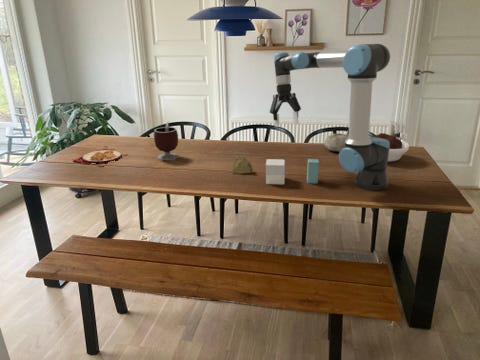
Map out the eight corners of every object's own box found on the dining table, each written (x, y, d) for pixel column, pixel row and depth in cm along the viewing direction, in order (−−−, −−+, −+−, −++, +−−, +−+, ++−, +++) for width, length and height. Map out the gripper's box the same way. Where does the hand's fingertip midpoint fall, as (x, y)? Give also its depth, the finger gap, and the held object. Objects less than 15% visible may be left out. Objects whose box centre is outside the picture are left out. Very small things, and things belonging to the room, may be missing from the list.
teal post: (316, 179, 192) (318, 159, 188) (317, 183, 187) (319, 162, 183) (306, 179, 192) (307, 158, 188) (307, 183, 188) (308, 162, 184)
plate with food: (72, 162, 225) (71, 157, 223) (104, 150, 246) (103, 145, 244) (102, 169, 215) (101, 163, 213) (133, 155, 236) (132, 150, 234)
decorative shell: (346, 156, 226) (347, 140, 223) (318, 151, 237) (319, 135, 233) (357, 149, 240) (359, 133, 236) (331, 144, 250) (332, 130, 246)
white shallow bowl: (399, 153, 231) (403, 128, 226) (412, 166, 208) (417, 139, 203) (357, 152, 234) (360, 128, 228) (365, 165, 211) (368, 139, 205)
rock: (257, 166, 205) (241, 161, 210) (254, 157, 198) (238, 152, 202) (248, 182, 201) (232, 176, 205) (245, 173, 194) (228, 168, 198)
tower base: (283, 178, 195) (284, 168, 194) (284, 184, 187) (284, 175, 185) (266, 177, 196) (266, 168, 194) (266, 184, 188) (266, 174, 186)
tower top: (284, 168, 194) (284, 159, 192) (284, 175, 185) (284, 165, 183) (266, 168, 194) (266, 159, 193) (265, 174, 186) (265, 165, 184)
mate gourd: (177, 161, 223) (174, 127, 215) (153, 161, 223) (150, 127, 216) (181, 153, 237) (179, 121, 230) (159, 153, 237) (156, 121, 230)
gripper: (295, 84, 208) (298, 123, 211) (260, 86, 193) (264, 127, 197) (305, 82, 202) (308, 122, 205) (270, 84, 187) (273, 127, 191)
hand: (286, 125), depth 201 cm, fingers open, 13 cm apart
